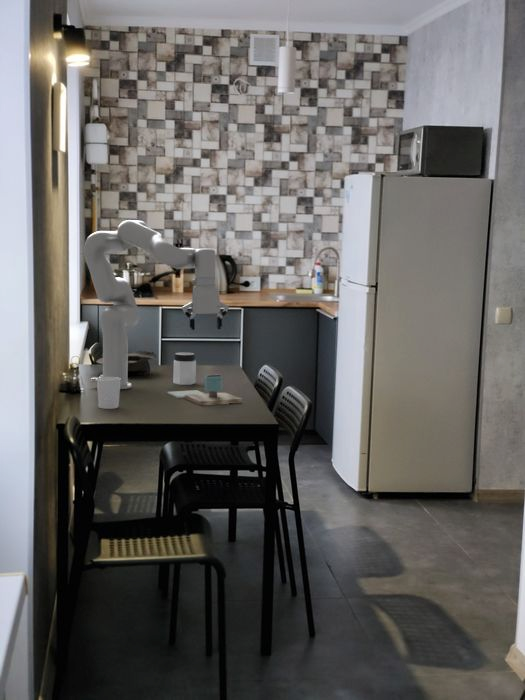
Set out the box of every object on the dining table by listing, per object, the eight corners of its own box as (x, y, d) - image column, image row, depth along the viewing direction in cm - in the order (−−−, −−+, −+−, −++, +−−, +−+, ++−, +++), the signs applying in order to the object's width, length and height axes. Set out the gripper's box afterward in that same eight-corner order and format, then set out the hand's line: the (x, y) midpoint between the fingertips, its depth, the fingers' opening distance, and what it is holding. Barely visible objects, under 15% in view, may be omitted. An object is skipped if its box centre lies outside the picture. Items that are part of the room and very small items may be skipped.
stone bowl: (168, 373, 391) (167, 352, 390) (123, 384, 373) (122, 362, 371) (129, 366, 407) (128, 345, 405) (84, 376, 388) (83, 354, 387)
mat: (177, 398, 337) (177, 396, 337) (167, 393, 346) (167, 391, 346) (207, 396, 343) (207, 394, 343) (196, 391, 352) (196, 390, 352)
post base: (200, 405, 324) (201, 383, 323) (185, 398, 336) (185, 377, 335) (241, 402, 332) (242, 380, 331) (224, 396, 344) (225, 375, 343)
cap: (209, 391, 329) (209, 376, 329) (202, 389, 335) (202, 374, 334) (224, 390, 332) (224, 375, 332) (217, 388, 338) (217, 373, 337)
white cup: (99, 404, 321) (99, 376, 319) (122, 405, 320) (122, 377, 319) (94, 409, 313) (94, 379, 312) (117, 409, 313) (118, 380, 311)
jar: (199, 384, 369) (199, 354, 367) (182, 385, 364) (183, 355, 362) (186, 380, 376) (187, 351, 374) (169, 382, 370) (170, 352, 369)
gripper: (183, 283, 331) (184, 330, 333) (230, 282, 335) (231, 329, 337) (180, 282, 338) (180, 329, 340) (226, 281, 342) (226, 327, 344)
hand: (205, 329), depth 339 cm, fingers open, 9 cm apart
